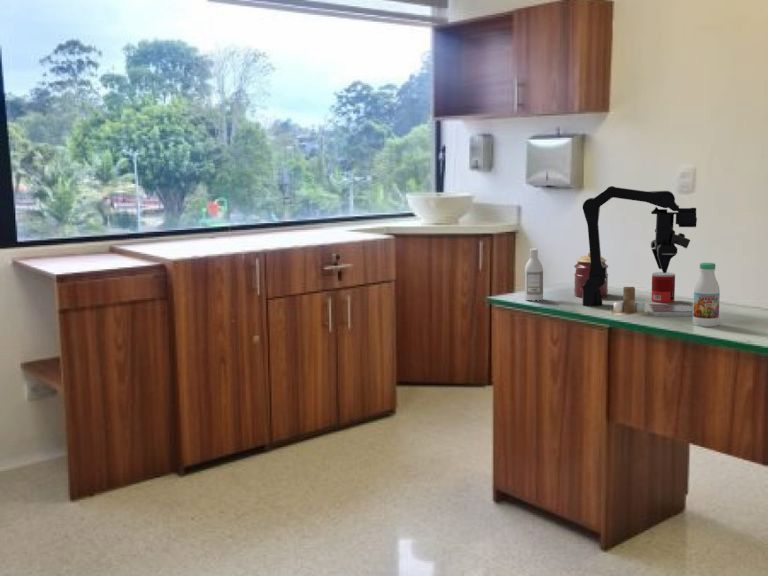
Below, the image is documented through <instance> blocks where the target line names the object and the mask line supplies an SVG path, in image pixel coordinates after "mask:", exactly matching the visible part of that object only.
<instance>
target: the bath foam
mask: <svg viewBox="0 0 768 576" xmlns="http://www.w3.org/2000/svg"><path fill="white" fill-rule="evenodd" d="M538 250H539V249H538V248H529V259H528V261H527V262H526V264H525V267H524V299H527V300H534V301H533V302H540V301H539V300H541V301H543V300H544V268H543V265H542V263H541V261H540V260H539V256H538V255H539V253H538ZM527 300H526V301H527ZM535 300H537V301H535Z"/></svg>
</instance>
